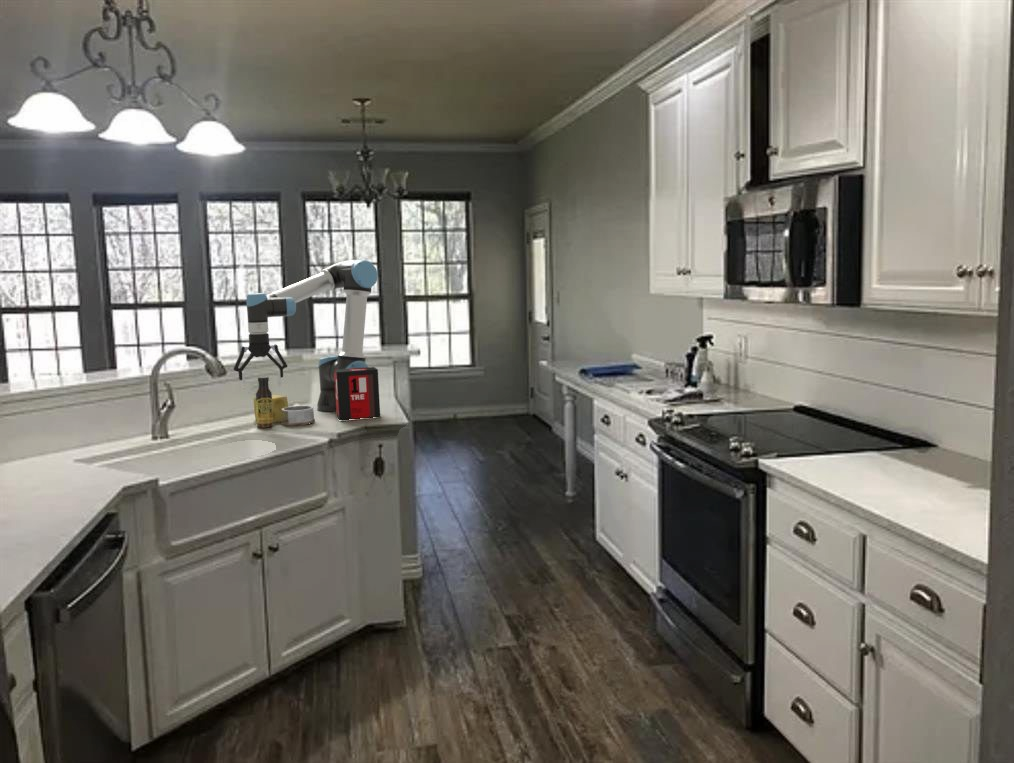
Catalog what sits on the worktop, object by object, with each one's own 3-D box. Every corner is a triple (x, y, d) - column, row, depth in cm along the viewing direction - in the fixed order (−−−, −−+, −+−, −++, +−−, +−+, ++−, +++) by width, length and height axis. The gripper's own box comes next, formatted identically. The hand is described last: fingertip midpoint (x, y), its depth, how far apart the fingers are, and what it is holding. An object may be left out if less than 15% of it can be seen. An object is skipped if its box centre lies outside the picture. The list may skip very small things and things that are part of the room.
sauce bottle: (258, 429, 335) (254, 378, 332) (255, 426, 341) (252, 376, 338) (275, 427, 338) (271, 377, 335) (272, 424, 344) (269, 375, 341)
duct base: (311, 418, 354) (311, 416, 354) (317, 423, 342) (317, 421, 342) (279, 421, 349) (279, 419, 349) (284, 427, 337) (284, 424, 337)
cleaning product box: (339, 421, 346) (336, 372, 343) (336, 417, 354) (333, 369, 351) (380, 417, 351) (377, 369, 348) (376, 414, 359) (374, 367, 356)
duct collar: (310, 416, 353) (310, 404, 352) (316, 421, 342) (315, 409, 341) (280, 419, 348) (279, 407, 348) (285, 424, 337) (284, 412, 337)
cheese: (265, 424, 346) (263, 399, 344) (253, 420, 354) (252, 396, 352) (289, 420, 353) (287, 396, 351) (277, 417, 361) (275, 393, 359)
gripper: (225, 335, 326) (229, 390, 329) (292, 332, 335) (295, 385, 338) (224, 334, 333) (227, 388, 336) (289, 331, 342) (292, 383, 345)
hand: (261, 387), depth 337 cm, fingers open, 13 cm apart
